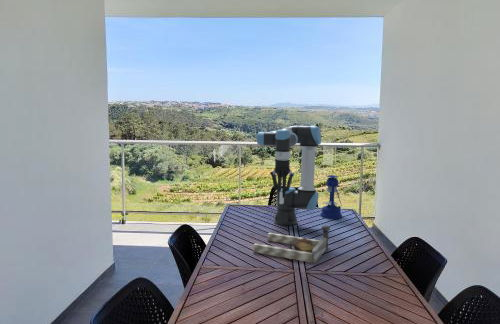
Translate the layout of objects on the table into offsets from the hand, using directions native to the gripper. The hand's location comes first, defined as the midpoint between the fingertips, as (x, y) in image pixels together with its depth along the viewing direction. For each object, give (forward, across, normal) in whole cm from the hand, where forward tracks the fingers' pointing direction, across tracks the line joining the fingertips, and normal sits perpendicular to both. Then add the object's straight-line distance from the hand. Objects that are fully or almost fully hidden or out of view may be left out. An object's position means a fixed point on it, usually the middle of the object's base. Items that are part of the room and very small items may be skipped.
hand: (281, 203), depth 194 cm
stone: (+25, +14, -1) cm, 28 cm away
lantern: (+25, +10, +76) cm, 81 cm away
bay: (+24, +7, 0) cm, 25 cm away
